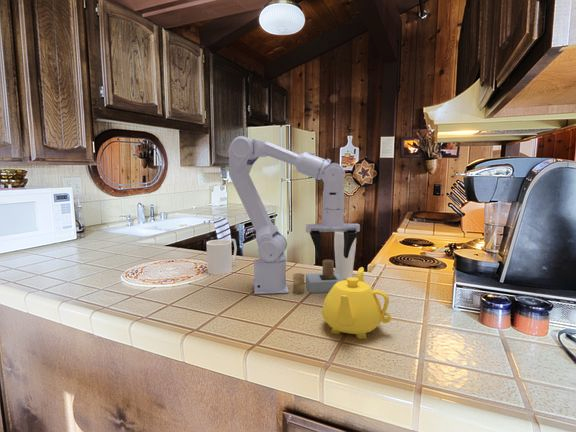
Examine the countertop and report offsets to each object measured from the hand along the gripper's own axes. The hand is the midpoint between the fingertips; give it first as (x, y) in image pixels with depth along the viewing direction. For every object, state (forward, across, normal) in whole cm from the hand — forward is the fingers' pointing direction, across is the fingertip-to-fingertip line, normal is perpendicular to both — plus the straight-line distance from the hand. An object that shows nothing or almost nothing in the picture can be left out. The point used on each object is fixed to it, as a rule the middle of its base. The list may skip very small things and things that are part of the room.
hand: (332, 257), depth 94 cm
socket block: (+10, -1, +5) cm, 12 cm away
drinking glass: (+11, +7, +13) cm, 18 cm away
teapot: (+11, +1, -21) cm, 23 cm away
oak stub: (+10, -9, +2) cm, 14 cm away
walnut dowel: (+10, 0, +5) cm, 11 cm away
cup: (+11, -32, +25) cm, 42 cm away
